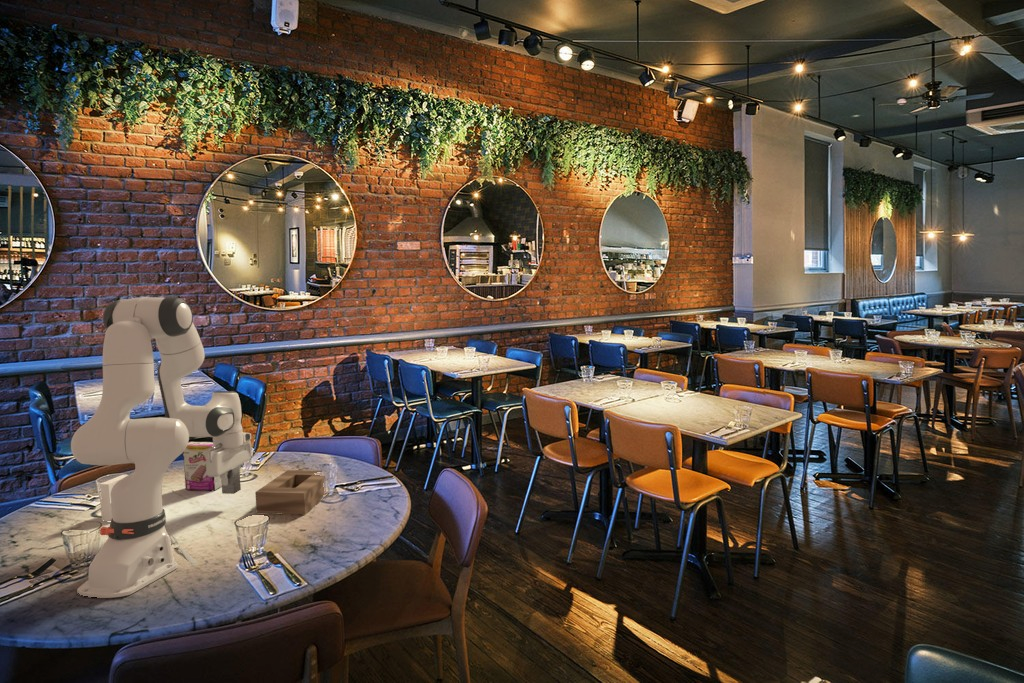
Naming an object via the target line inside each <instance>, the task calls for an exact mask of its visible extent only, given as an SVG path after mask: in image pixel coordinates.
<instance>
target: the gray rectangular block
mask: <svg viewBox="0 0 1024 683" xmlns="http://www.w3.org/2000/svg"><path fill="white" fill-rule="evenodd" d="M240 472H241V469H239V466H237V467H235V468H233V469H231V470H230V471H228V475H227V477H228V479H230V484H228V485H226V486H225V485H222V487H221V493H222V494H223V495H224V494H225V495H226V494H228V495H235V494H236V493H238V492H239V491H241V473H240ZM221 483H222V480H221Z"/></svg>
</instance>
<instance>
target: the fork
mask: <svg viewBox="0 0 1024 683" xmlns="http://www.w3.org/2000/svg"><path fill="white" fill-rule="evenodd" d="M168 535H169V534H168ZM169 537H170V542H171V543H172V544H173V543H176V544H178V543H180V542H179V541H178V540H177V538H176V537H175V536H174V535H173V534H171V535H169ZM180 546H181V545H179V546H176V547H175V548H176V549H178V550H180V552H181V553H182V555H183V556H184V558H185V559H186V560H187V562H188V563H190V564H197V563H198V561H197V559H195V558H194V557H193V556H191V554H189V553H188V552H187V551H186V550H185V549H184V548H183V547H180Z"/></svg>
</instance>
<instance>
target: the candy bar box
mask: <svg viewBox="0 0 1024 683" xmlns="http://www.w3.org/2000/svg"><path fill="white" fill-rule="evenodd" d="M212 447H213V441H189V442H188V445H187V447H186V449H185V450H184V452H183V453H182V457H183V458H182V460H183V470H184V472H183V473H184V486H185V487H184V488H185V490H187V491H208V490H213V491H214V492H215V491H218V489H220V488H222V483H221V478H220V477H219V476H218V477H208V475H207V473H206V462H207V455H208V453H209V452H210V450H211V448H212ZM213 491H212V492H213Z"/></svg>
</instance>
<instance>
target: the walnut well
mask: <svg viewBox="0 0 1024 683" xmlns="http://www.w3.org/2000/svg"><path fill="white" fill-rule="evenodd" d="M322 471H323V470H311V469H310V470H308V469H305V470H304V469H303V470H302V469H301V470H300V469H288V470H285V471H284V472H283V473H281V474H280V475H278V476H277V477H276V478H274V479H272V480H271V481H269V482H268V483H266V484H265V485H263V486H262V487H261V488H259V489H258V490H257V491H255V507H256V514H257V513H270V514H269V515H273V514H272V513H275V514H274V515H277V514H276V513H282V514H281V515H291V514H306V513H307V512H308V513H309V512H310V511H311V510H312V509H314V508H315V507H316V506H317V505H319V503H321V499H322V497H323V495H324V487H323V483H324V478H325V476H320V475H315V474H314V473H317V472H322ZM315 505H316V506H315ZM314 506H315V507H314ZM313 507H314V508H313ZM308 513H307V514H308ZM307 514H306V515H307Z"/></svg>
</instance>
